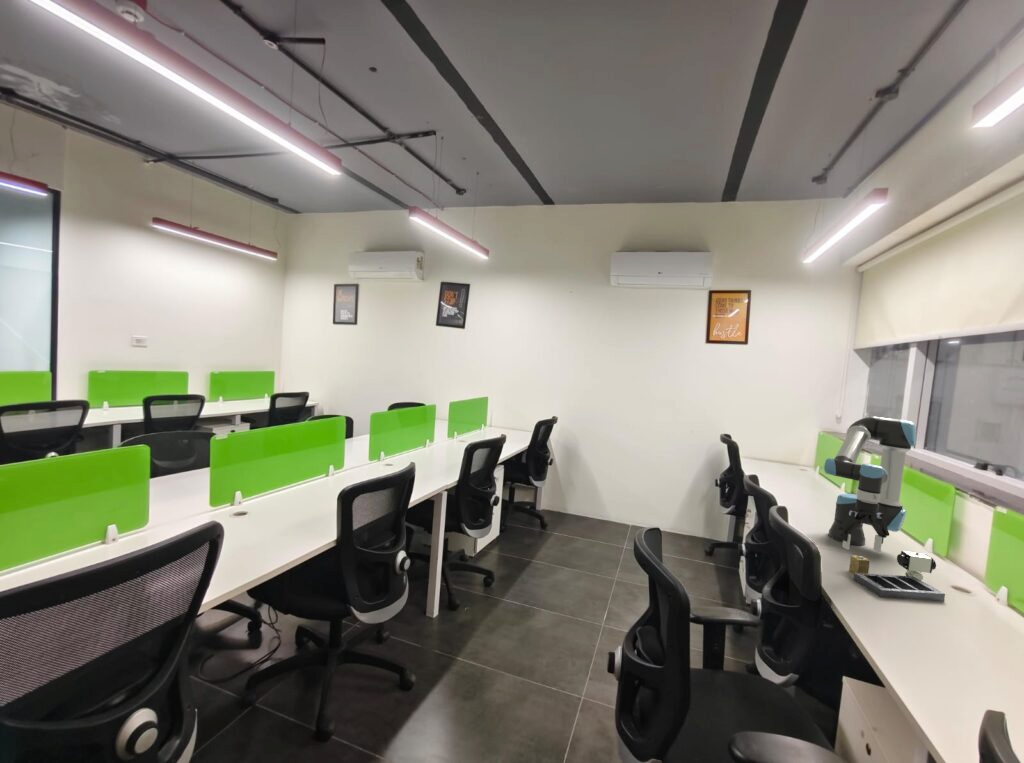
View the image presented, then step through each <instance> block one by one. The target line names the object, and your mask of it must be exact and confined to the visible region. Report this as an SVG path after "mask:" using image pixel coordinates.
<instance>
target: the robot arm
mask: <svg viewBox="0 0 1024 763" xmlns="http://www.w3.org/2000/svg"><path fill="white" fill-rule="evenodd" d="M870 440H872V441H873V440H874V441H877V442H878V441H879V444H878V445H879V447H881V449H882V452H881V459H880V464H879V465H877V464H873V463H862V464H861V463H856V461H857V459H858V458H859V456H860V454H861V451H862V450H863V448H864V446H865V444H866V443H868V442H869V441H870ZM916 445H917V429H916V424H915V423H914V422H913V421H910V420H905V419H898V418H897V419H896V418H888V417H879V416H865V417H864V418H860V419H858V420H856V421H855V422H853V423H852V424H851V425H849V427H848V428H847V430H846V437H845V438H844V441H843V442H842V444H841V446H840V448H839V449H838V452H837V454H836V455H835V456H834V458H831V457H830V458H829V457H828V458H826V459H825V461H824V464H823V465H824V468H823V470H824V473H825V474H827V475H830V476H834V477H838V478H839V477H840V478H843V479H848V480H853V481H858V486H857V491H856V494H853V493H841V494H839V495H837V497H836V502H835V511H834V519H833V523H832V524H831V527H830V528H829V529H828V534H827V535H828V536H829V537H830V538H832V539H834V540H835V541H839V542H841V543H842V548H844V549H845V550H848V551H849V550H850V546H851V545H852V546H853V545H855V546H864V545H866V537H865V533H864V527H863V526H864V525H867V526H871V527H872V529H873V530H874V531H875V533H876V534H875V536H874V542H873V548H872V549H873V551H876V552H878V553H881V551H882V545H884V544H883V543H884V538H887V537H889V536H890V532H894V533H896V532H899V531H900V530H901V529H902V527H903V524H904V520H905V519H906V516H907V510H906V509H904V508H903V503H901V501H900V498H901V489H902V483H903V477H904V476H903V475H904V469H905V468H904V466H905V460H906V453H907V452H909V451H911V449H912V447H915V446H916ZM889 531H890V532H889Z"/></svg>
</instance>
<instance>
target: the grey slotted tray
mask: <svg viewBox="0 0 1024 763" xmlns="http://www.w3.org/2000/svg"><path fill="white" fill-rule="evenodd" d="M853 581H855V582H856V583H858V584H860V585H861V586H862V587H864V588H865V589H867V590H868V591H870V592H872V593H873V594H874V595H876V596H877V595H878V597H879V598H881V597H882V598H883V599H898V600H899V599H900V600H901V599H902V600H916V601H932V602H945V597H946V594H945V593H944V592H942V591H940V590H938V589H937V588H935V587H933V586H932V585H929V584H928V583H926V582H924V581H923V580H919V579H917V578H915V577H913V576H906V575H896V574H895V575H893V574H879V573H878V574H877V573H868V574H865V573H853Z"/></svg>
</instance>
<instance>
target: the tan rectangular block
mask: <svg viewBox="0 0 1024 763" xmlns="http://www.w3.org/2000/svg"><path fill="white" fill-rule="evenodd" d="M870 562H871V560H869V559H868V558H866V557H864V556H862V555H860V554H857V555H856V554H851V555H850V560H849V568H848V570H849V572H850V573H852V574H854V573H865V574H869V573H870V572H869V570H870Z"/></svg>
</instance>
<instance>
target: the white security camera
mask: <svg viewBox="0 0 1024 763" xmlns="http://www.w3.org/2000/svg"><path fill="white" fill-rule="evenodd" d="M896 562H897V563H898V565H899V566H901V567H902V568H904V569H905V570H906V571H905V574H904V576H913V577H915V578H917V579H919V580H921V581H923V580H924V575H923V574H922V573H925V574H926V573H928V574H932V572H933V570H936V567H937V562H936V561H935V560H934V558H932V557H931V556H929V555H928V554H926V553H919V551H915V552H914V551H913V552H912V551H907V550H906V551H905V550H901V551H900V553H899V554H898V555H897V556H896Z"/></svg>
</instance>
